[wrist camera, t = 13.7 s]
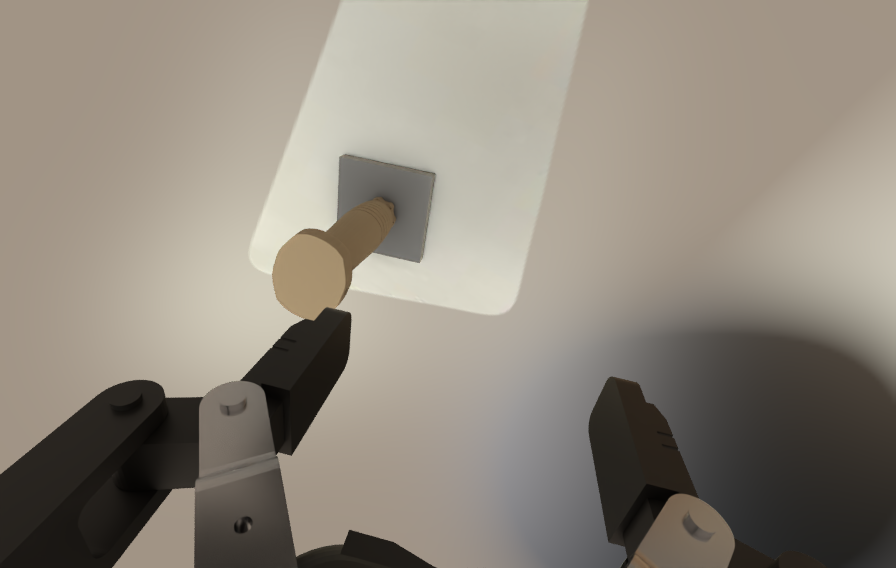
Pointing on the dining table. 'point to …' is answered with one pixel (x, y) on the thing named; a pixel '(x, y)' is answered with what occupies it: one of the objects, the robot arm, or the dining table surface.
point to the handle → (329, 258)
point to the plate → (393, 185)
